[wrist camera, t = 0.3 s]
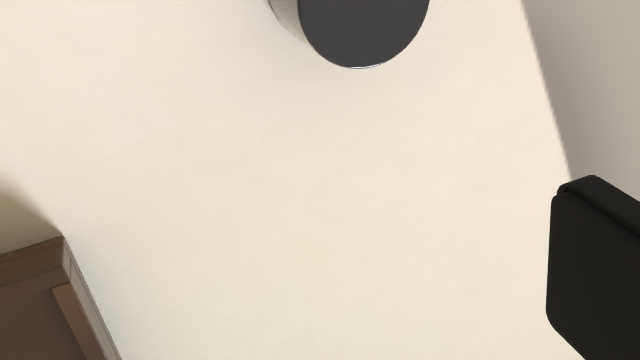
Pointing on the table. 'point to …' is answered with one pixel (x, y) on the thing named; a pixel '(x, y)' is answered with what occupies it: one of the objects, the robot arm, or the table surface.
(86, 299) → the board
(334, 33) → the dark grey cylinder
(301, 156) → the table surface
